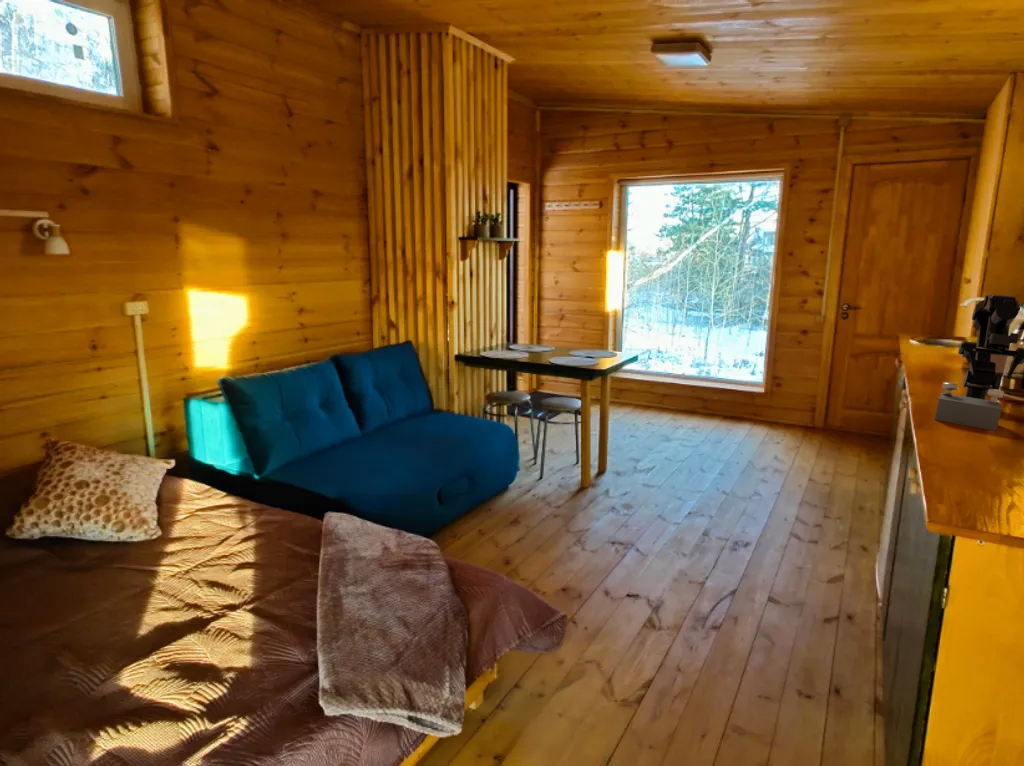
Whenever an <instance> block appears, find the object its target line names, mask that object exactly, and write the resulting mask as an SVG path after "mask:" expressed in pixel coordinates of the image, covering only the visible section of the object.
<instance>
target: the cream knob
mask: <svg viewBox="0 0 1024 766" xmlns="http://www.w3.org/2000/svg"><path fill="white" fill-rule="evenodd" d="M1004 394H1005V391H1003V390H1000V389H999V390H995V389H988V393H987V394H986V396H988V397H989V396H990V400H989V401H990V403H993V404H996V403H997V402H998V398H1003V397H1004Z"/></svg>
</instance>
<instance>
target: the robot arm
mask: <svg viewBox="0 0 1024 766" xmlns="http://www.w3.org/2000/svg"><path fill="white" fill-rule="evenodd" d="M1020 311H1021V305H1020V303H1019V301H1018V299H1017V297H1016V296H1014V295H1003V294H987V295H985V296H984V299H983V300H981V301H980V302H978V303H976V304H975V307H974V309H973V312H972V315H971V320H972V321H973V322H972V323H973V328H974V329H975V330H976V331H977V338H976V342H972V341H965V340H964V341H962V342H961V343H960V345H959V348H958V351H957V353H958V355H959V356H961V355H962V358H965V359H966V361H967V362H968V366H969V369H967V370H966V373H965V375H964V378H963V381H962V386H963V387H964V388H966V391H965V395H964V397H970V398H977V399H983V400H986V397H987V394H986V393H987V390H988V389H995V386H996V384H997V381H998V379H999V378H998V377H997V374H995V371H996V364H995V362H991V354H995V355H1003V356H1008V357H1012V360H1011V361H1010V365H1009V368H1008V372H1007V375H1006V376H1007V378H1006V379H1007V380H1010V379H1011V377H1012V376H1013V374H1014V372H1015V370H1016V369H1017V367H1018V365H1023V364H1024V348H1023V347H1017V348H1016V350H1011V349H1009V350H1006V348H1008V347H1009V344H1010V343H1011V344H1017V343H1018V340H1019V335H1020V334H1019V333H1017V332H1016V333H1015V332H1011V333H1010V334H1009V332H1010V326H1011V325H1012V323H1013V322H1014V320H1015V319H1016V317H1018V314H1019V312H1020ZM1011 344H1010V345H1011Z"/></svg>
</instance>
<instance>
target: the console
mask: <svg viewBox="0 0 1024 766" xmlns="http://www.w3.org/2000/svg"><path fill="white" fill-rule="evenodd" d="M990 401H991V400H987V399H985V400H983V399H977V398H970V397H965V395H964V396H962V395H958V394H952V393H951V396H945V393H944V392H940V394H939V397H938V403H937V407H936V411H935V416H934V420H935V421H940V422H945V423H951V424H956V425H962V426H968V427H972V428H973V427H974V428H979V429H984V430H988V431H995V432H996V431H997V430H998V425H999V422H1000V418H1001V414H1002V410H1003V408H1002V402H1000V401H997V403H996V404H993V403H990Z"/></svg>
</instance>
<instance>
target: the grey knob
mask: <svg viewBox="0 0 1024 766" xmlns="http://www.w3.org/2000/svg"><path fill="white" fill-rule="evenodd" d="M958 386H959V385H958V384H957V383H955V382H949V381H943V382H942V385H941V388H942V389H945V396H951V394H952V391H957V389H958Z"/></svg>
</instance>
